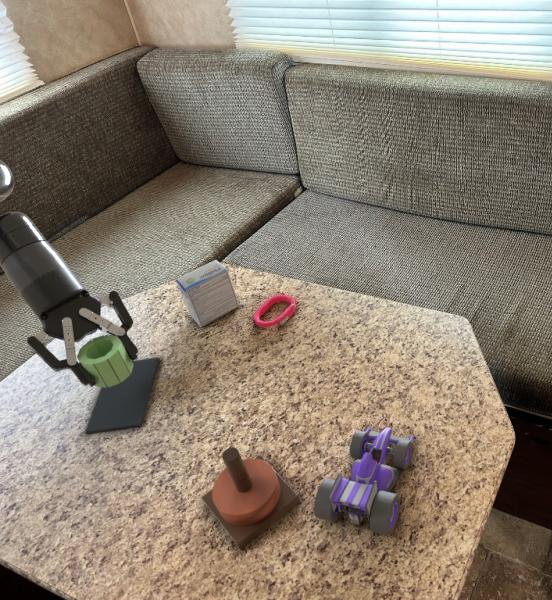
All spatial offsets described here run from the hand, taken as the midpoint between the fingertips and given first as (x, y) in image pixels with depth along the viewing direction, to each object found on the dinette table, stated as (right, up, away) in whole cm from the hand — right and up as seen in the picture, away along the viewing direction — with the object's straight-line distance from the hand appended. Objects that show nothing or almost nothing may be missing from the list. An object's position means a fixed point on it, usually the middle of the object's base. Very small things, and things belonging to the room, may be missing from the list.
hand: (114, 371), depth 90 cm
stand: (+23, -16, -12) cm, 30 cm away
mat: (-1, -4, +5) cm, 7 cm away
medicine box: (+9, +8, +19) cm, 23 cm away
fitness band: (+21, +8, +17) cm, 28 cm away
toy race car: (+39, -13, -11) cm, 42 cm away
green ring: (-1, 0, +2) cm, 2 cm away
